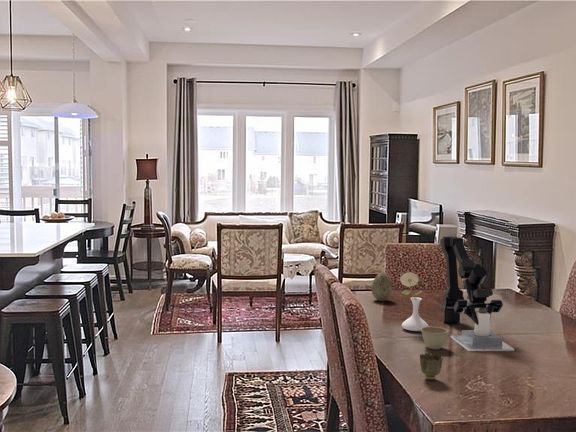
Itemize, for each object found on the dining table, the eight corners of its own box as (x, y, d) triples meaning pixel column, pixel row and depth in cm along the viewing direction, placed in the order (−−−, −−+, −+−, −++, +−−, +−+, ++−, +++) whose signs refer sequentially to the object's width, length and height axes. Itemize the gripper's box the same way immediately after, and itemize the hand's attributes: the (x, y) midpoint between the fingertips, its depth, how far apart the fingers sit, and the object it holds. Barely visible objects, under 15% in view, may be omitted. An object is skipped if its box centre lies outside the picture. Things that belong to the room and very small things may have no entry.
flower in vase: (431, 328, 275) (433, 271, 273) (425, 334, 265) (427, 275, 263) (401, 324, 281) (403, 269, 279) (394, 330, 270) (396, 273, 268)
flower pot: (448, 345, 249) (448, 327, 249) (445, 352, 240) (446, 334, 239) (422, 343, 252) (423, 325, 252) (419, 349, 243) (419, 331, 242)
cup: (416, 375, 213) (417, 352, 212) (437, 375, 213) (438, 352, 213) (422, 383, 205) (423, 359, 205) (444, 383, 206) (445, 359, 205)
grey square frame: (450, 337, 262) (451, 327, 262) (492, 336, 264) (493, 327, 263) (468, 351, 242) (469, 341, 242) (514, 350, 244) (514, 340, 243)
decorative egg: (393, 303, 325) (394, 274, 323) (372, 302, 325) (373, 274, 324) (390, 298, 335) (391, 270, 334) (370, 298, 335) (370, 270, 334)
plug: (474, 338, 255) (475, 307, 254) (484, 338, 255) (485, 307, 254) (478, 341, 250) (479, 310, 249) (489, 341, 251) (490, 310, 250)
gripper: (457, 280, 254) (466, 313, 244) (502, 280, 256) (513, 313, 246) (450, 295, 262) (458, 328, 252) (493, 295, 264) (503, 328, 254)
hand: (483, 324), depth 251 cm, fingers closed on plug, 4 cm apart
